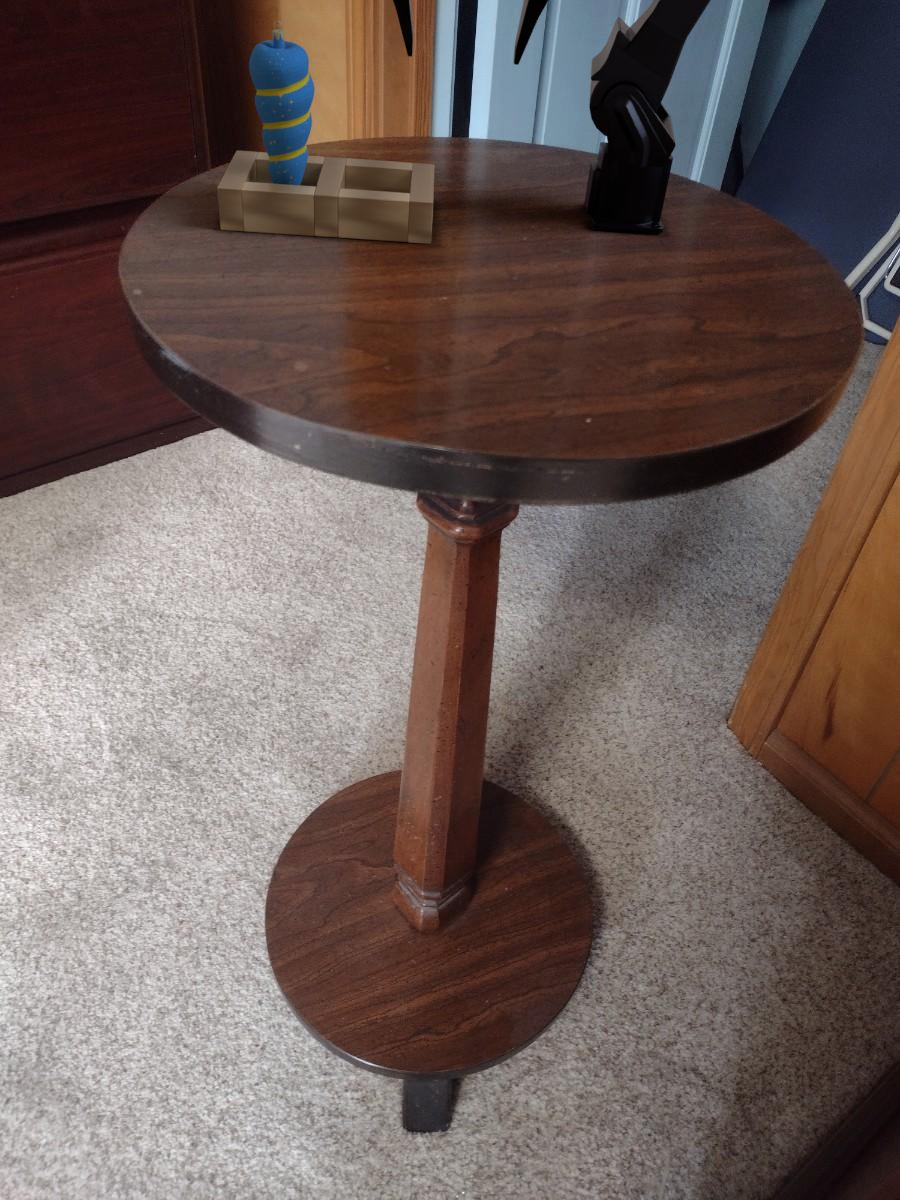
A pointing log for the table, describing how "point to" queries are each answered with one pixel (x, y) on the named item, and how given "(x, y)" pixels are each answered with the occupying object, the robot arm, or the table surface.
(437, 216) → the table surface
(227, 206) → the rack
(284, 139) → the ornament
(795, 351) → the table surface
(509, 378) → the table surface
